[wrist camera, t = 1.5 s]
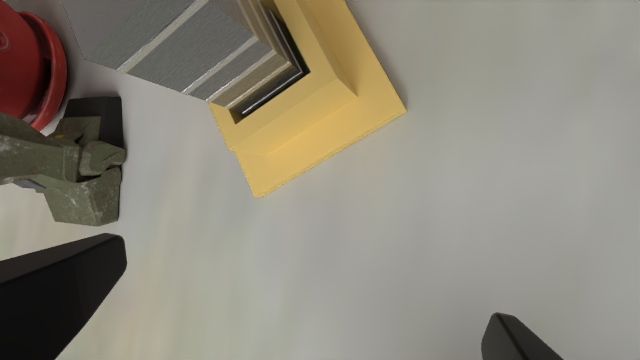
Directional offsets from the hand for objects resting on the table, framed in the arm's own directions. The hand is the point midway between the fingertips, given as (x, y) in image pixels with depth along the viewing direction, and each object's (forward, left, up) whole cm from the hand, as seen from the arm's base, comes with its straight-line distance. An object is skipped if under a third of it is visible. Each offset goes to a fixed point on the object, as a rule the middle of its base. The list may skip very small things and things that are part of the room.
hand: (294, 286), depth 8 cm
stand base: (+8, +7, -13) cm, 17 cm away
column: (+8, +7, -12) cm, 16 cm away
